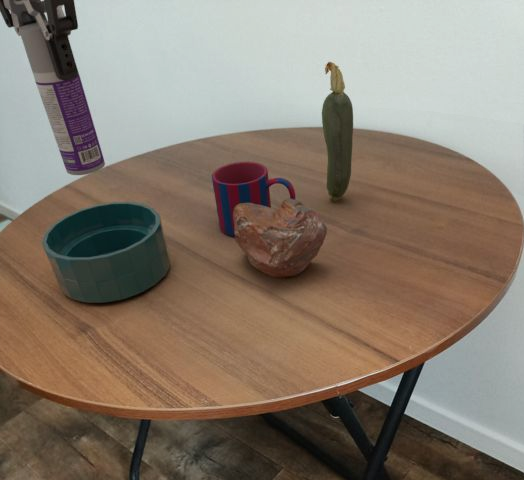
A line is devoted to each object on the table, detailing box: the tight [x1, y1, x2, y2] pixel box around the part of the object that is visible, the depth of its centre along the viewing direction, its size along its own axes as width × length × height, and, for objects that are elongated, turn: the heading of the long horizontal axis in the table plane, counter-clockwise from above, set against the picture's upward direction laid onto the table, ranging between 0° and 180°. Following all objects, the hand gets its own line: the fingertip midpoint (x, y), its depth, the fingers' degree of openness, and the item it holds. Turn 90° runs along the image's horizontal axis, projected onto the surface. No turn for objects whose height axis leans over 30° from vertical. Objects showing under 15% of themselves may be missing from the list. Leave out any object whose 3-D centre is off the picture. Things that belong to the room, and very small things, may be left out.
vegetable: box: [321, 61, 354, 202], centre depth 76 cm, size 4×4×20 cm
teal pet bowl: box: [41, 201, 171, 304], centre depth 70 cm, size 15×15×7 cm
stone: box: [233, 198, 328, 278], centre depth 65 cm, size 13×8×10 cm
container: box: [19, 22, 106, 176], centre depth 59 cm, size 5×5×15 cm
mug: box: [211, 161, 296, 238], centre depth 76 cm, size 8×12×8 cm, turn 64°
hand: (56, 74), depth 57 cm, fingers closed on container, 4 cm apart
